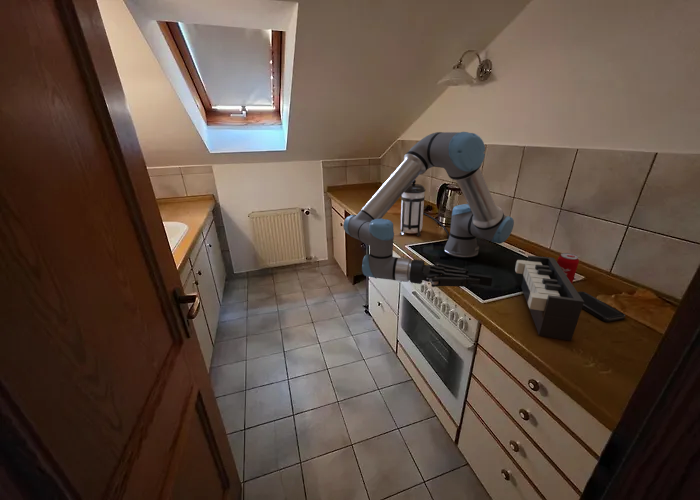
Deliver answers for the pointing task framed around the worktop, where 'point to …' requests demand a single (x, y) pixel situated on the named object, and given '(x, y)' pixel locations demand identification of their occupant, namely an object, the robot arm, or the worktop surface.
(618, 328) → the worktop surface
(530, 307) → the key near
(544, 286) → the piano
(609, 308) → the phone
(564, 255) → the beverage can
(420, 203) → the coffee press
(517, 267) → the key far
